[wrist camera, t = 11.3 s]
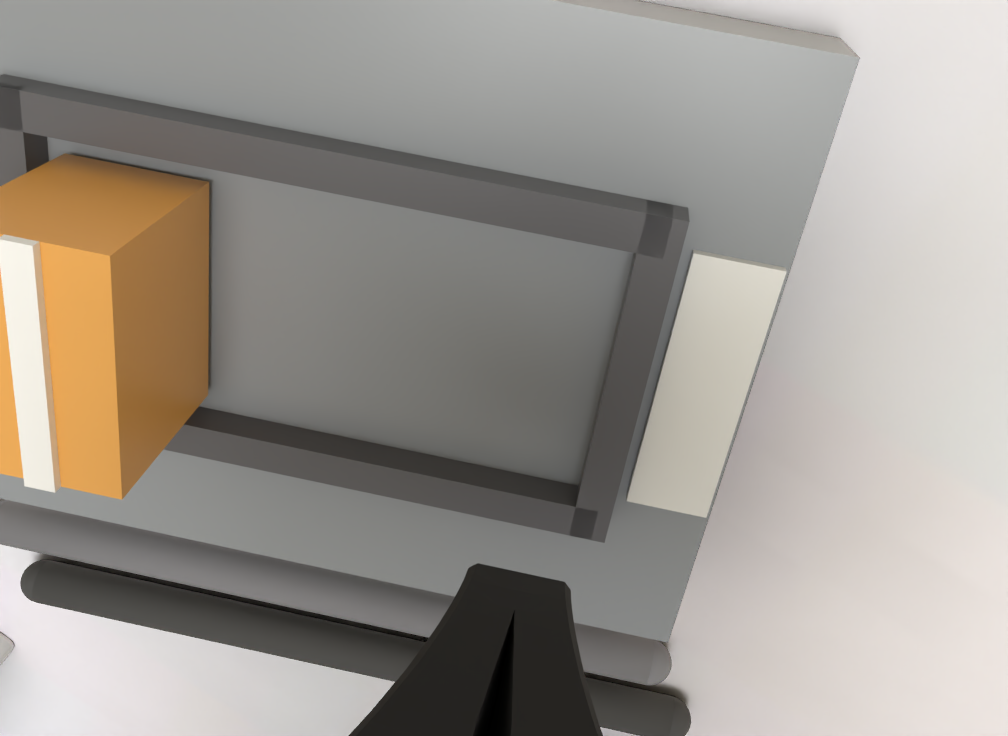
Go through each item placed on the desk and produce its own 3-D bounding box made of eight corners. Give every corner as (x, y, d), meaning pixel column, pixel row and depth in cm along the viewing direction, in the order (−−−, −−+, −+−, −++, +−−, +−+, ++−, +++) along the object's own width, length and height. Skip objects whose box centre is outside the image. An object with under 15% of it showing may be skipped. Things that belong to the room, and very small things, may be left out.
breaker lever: (209, 182, 19) (103, 260, 15) (208, 394, 22) (117, 506, 18) (64, 153, 19) (-74, 224, 16) (79, 368, 22) (-37, 473, 18)
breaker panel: (840, 38, 18) (868, 66, 16) (667, 587, 25) (668, 666, 23) (-59, -130, 19) (-164, -127, 17) (9, 447, 26) (-58, 509, 24)
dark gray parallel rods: (684, 720, 27) (685, 755, 26) (4, 571, 28) (-20, 599, 27) (712, 641, 26) (714, 675, 25) (-7, 487, 27) (-34, 512, 26)
